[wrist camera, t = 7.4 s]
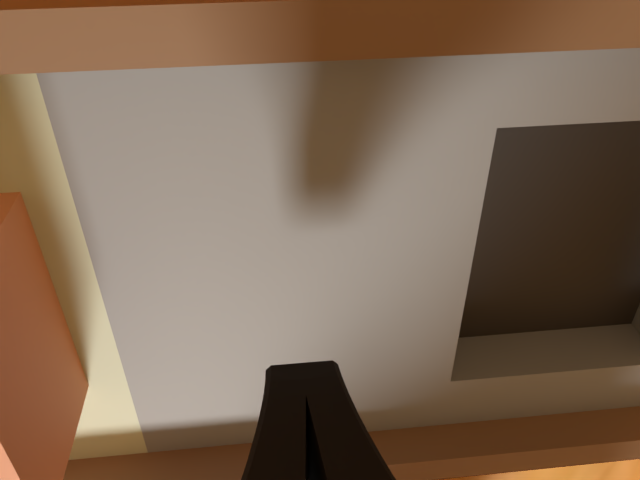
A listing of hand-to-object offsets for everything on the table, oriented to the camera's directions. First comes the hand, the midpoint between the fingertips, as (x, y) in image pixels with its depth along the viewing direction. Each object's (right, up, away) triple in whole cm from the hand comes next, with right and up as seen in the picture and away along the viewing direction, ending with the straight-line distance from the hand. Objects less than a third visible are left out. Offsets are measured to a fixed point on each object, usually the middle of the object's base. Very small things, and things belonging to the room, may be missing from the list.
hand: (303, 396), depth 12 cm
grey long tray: (-4, +3, +4) cm, 6 cm away
